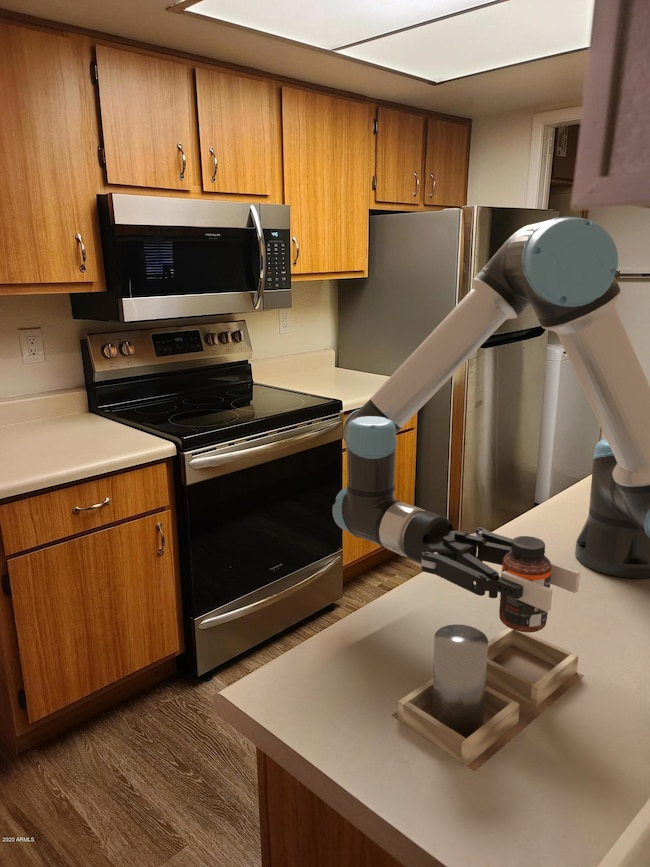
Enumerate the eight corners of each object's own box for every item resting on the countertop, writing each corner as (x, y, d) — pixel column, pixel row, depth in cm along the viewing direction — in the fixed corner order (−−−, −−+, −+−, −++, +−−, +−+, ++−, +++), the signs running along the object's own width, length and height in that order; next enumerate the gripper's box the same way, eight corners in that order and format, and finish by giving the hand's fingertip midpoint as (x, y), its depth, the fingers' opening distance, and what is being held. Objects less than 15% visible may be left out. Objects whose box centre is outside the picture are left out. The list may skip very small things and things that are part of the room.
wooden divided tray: (504, 645, 92) (505, 622, 91) (583, 683, 84) (585, 658, 83) (391, 723, 77) (392, 697, 76) (474, 780, 68) (475, 751, 67)
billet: (452, 697, 80) (455, 618, 77) (494, 721, 75) (498, 639, 73) (421, 719, 76) (423, 638, 73) (463, 746, 72) (467, 661, 69)
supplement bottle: (549, 637, 79) (556, 554, 76) (500, 632, 80) (505, 550, 78) (543, 612, 85) (550, 533, 82) (497, 608, 86) (502, 530, 83)
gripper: (455, 539, 101) (597, 593, 84) (372, 578, 89) (519, 649, 72) (457, 495, 99) (603, 540, 82) (373, 528, 87) (523, 589, 70)
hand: (563, 591), depth 77 cm, fingers closed on supplement bottle, 6 cm apart
